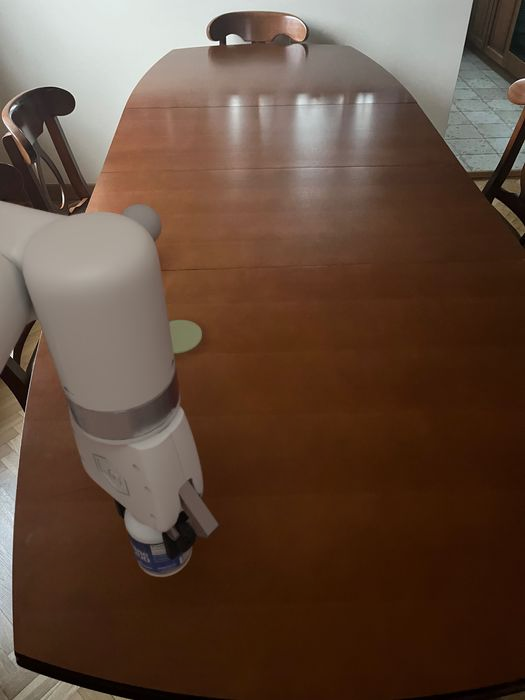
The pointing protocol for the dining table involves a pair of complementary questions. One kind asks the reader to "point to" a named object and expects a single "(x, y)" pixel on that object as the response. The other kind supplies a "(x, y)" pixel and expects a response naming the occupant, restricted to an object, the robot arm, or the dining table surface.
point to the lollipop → (145, 218)
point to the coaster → (184, 335)
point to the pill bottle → (152, 548)
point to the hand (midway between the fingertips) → (158, 525)
